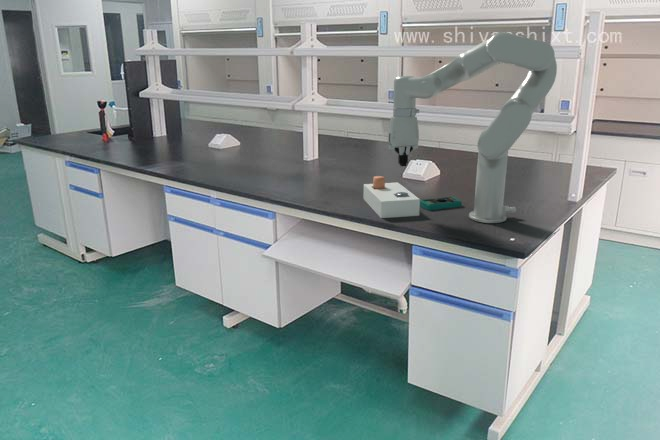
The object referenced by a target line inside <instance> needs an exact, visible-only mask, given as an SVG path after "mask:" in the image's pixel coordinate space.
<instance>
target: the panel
mask: <svg viewBox="0 0 660 440" xmlns="http://www.w3.org/2000/svg"><path fill="white" fill-rule="evenodd" d="M398 192H406V193H408V197H396V193H398ZM363 200H364V202H366V204H368V206H370V208H371V209H372V210H373V211H374V212H375V213H376V214H377V215H378V217H379V218H380V219H387V218H402V217H404V218H405V217H406V218H407V217H419V216H420V207H421V206H420V200H421V199H420V198H419V197H417V196H416V195H415V194H414V193H413V192H411V191H409V190H408V188H406V187H405V186H403V185H402V184H400V183H399V182H397V181H396V182H385V189H373V183H364V184H363Z"/></svg>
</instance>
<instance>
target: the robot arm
mask: <svg viewBox="0 0 660 440" xmlns="http://www.w3.org/2000/svg"><path fill="white" fill-rule="evenodd" d="M501 63H502V64H506V65H509V66H513V67H518V68H522V69H526V70H527V75H526V76H525V78H524V80H523V81H522V82H521V83H520V85H519V86H518V88H517V89H516V90H515V92H514V93H513V94H512V95H511V96H510V98H509V99H508V100H507V101H506V102H505V103H504V104H503V105H502V107H501V109H500V111H498V113H497V114H496V116H495V117H494V119H493V120H492V122H491V123H490V124H489V125H488V126H487V127H486V128H485V129H483V131H482V132H481V133H480V135H479V137H478V140H477V151H478V153H477V165H476V174H475V175H476V177H475V188H474V189H475V190H474V192H475V193H474V205H473V210H472V211H470V212H469V213H468V218H469V219H471V220H472V221H475V222H479V223H484V224H500V223H503V222H505V221H507V219H508V216H507V214H508V213H516V212H517V208H516V206H510V207H509V205H504V200H505V199H504V197H505V189H506V188H505V187H506V178H507V177H506V175H507V168H508V156H509V155H508V154H509V150H510V149H511V148H512V147H513V145H514V144H515V143H516V142H517V140H519V138H520V137H521V136H522V135H523V133H524V132H525V130H526V129H528V127H529V125H530V123H531V121H532V117H533V116H532V115H533V114H534V113H535V111H537V108H538V107H539V106H540V104H541V103H542V102H543V101H544V99H545V98H546V97H547V96H548V94H549V92H550V91H551V89H552V87H553V85H554V84H555V81H556V78H557V71H558V70H557V69H558V66H557V65H558V64H557V61H556V56H555V50H554V48H553V46H552V45H551V44H550V43H549V42H546V41H544V40H540V39H539V40H538V39H534V38H529V37H524V36H522V35H521V36H520V35H516V34H513V33H509V32H504V31H500V32H497V33H495V34H493V35H492V36H491V37H490V38H488V39H485V40H484V41H482V42H480V43H479V44H476V45H475V46H473V47H471V48H469V49H468V50H465V51H464V52H461V53H460V54H458V55H457V56H456V57H455V58H454V59H453V60H452V61H450V62H448V63H447V64H445V65H444V66H441V67H440V68H438V69H437V70H436V69H435V70H434V71H433V72H431V73H429V74H427V75H422V76H416V77H415V76H411V75H401V76H399V75H398V76H396V77H394V80H393V111H392V112H393V115H392V116H390V118H389V119H390V120H389V126H388V135H387V143H388V150H390V151H394V152H395V153H397V154H398V157H397V159H398V161H397V162H398V165H399V166H401V167H407V164H408V163H409V155H410V153H411V152H412V151H413V150H416V149H419V141H420V139H419V137H420V133H419V122H418V117H417V115H416V114H420V109H417V107H416V102H417V101H416V100H417V99H419V100H420V99H421V100H429V99H432V98H433V97H436V96H437V95H440V94H441V93H443V92H445V91H446V90H448V89H450V88H452V87H454V86H456V85H458V84H460V83H462V82H466V81H468V80H471V79H472V78H474V77H477V76H479V75H480V74H482V73H484V72H486V71H488V70H490V69H492V68H494V67H495V66H497V65H500V64H501ZM403 147H404V148H403Z"/></svg>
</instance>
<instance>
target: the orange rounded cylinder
mask: <svg viewBox="0 0 660 440" xmlns="http://www.w3.org/2000/svg"><path fill="white" fill-rule="evenodd" d="M372 180H373V181H372V182H373V183H372V184H373V189H385V183H386V177H385V176H381V175H376V176H373V179H372Z"/></svg>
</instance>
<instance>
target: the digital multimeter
mask: <svg viewBox="0 0 660 440" xmlns="http://www.w3.org/2000/svg"><path fill="white" fill-rule="evenodd" d="M462 206H463V201H461V200H460V199H459V198H457V197H454V196H447V197H445V196H444V197H438V198H427V199H425V198H424V199H420V207H421V208H423V209H424V210H427V211H437V210H443V209H444V210H445V209H451V208H452V209H453V208H462Z"/></svg>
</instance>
